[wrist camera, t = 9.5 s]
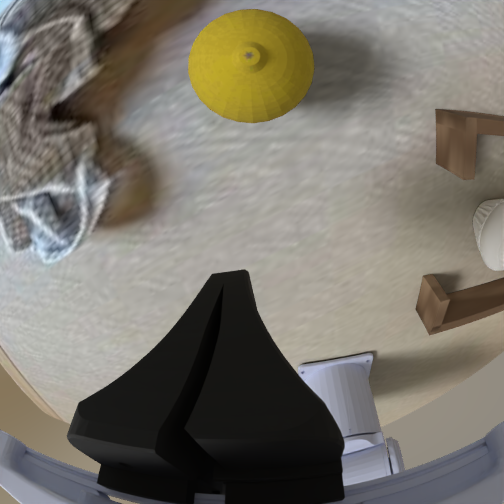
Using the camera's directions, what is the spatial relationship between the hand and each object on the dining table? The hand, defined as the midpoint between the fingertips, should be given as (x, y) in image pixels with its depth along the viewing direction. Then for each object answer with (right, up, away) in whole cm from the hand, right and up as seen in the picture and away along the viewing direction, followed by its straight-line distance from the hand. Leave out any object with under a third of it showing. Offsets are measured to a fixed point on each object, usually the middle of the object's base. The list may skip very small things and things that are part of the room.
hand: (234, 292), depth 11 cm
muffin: (+21, +5, +8) cm, 23 cm away
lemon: (+1, +12, +4) cm, 13 cm away
